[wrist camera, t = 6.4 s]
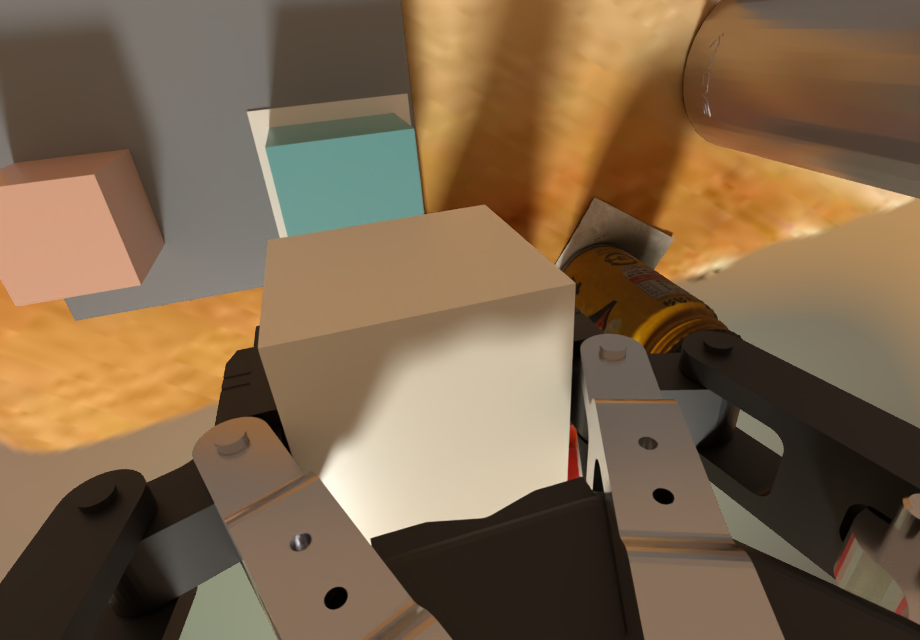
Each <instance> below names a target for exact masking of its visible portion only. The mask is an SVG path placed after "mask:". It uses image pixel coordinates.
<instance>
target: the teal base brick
mask: <svg viewBox="0 0 920 640" xmlns="http://www.w3.org/2000/svg"><path fill="white" fill-rule="evenodd" d="M265 149H266V153H267V157H268V161H269V165H270V169H271V173H272V177H273V181H274V185H275V189H276V192H277V196H278V200H279V204H280V208H281V212H282V216H283V220H284V224H285V228H286V232H287V236H288V237H290V236H296V235H302V234H308V233H314V232H320V231H326V230H333V229H339V228H345V227H351V226H357V225H363V224H369V223H375V222H381V221H387V220H393V219H399V218H406V217H412V216H418V215H424V212H423V203H422V194H421V185H420V176H419V168H418V159H417V150H416V141H415V132H414V128H413V127H412V126H410V125H409V124H408V123H406V122H405V121H404V120H403V119H401V118H400V117H399V116H397V115H396V114H395V113H388V114H379V115H371V116H363V117H354V118H346V119H338V120H329V121H321V122H313V123H304V124H296V125H288V126H279V127H271V128H269V131H268V136H267V141H266V145H265Z"/></svg>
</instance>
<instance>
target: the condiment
mask: <svg viewBox="0 0 920 640" xmlns="http://www.w3.org/2000/svg"><path fill="white" fill-rule="evenodd" d="M601 236H605V237H603V238H601V239H600V237H601ZM596 239H598V241H597V242H595V240H596ZM673 240H674V238H672V237H670V236H668V235H666V234H664V233H663V232H661V231H659V230H657V229H655V228H653V227H651V226H649V225H647V224H645V223H643V222H641V221H640V220H638V219H636V218H634V217H632V216H630V215H628V214H626V213H624V212H622V211H620V210H618V209H616V208H615V207H613V206H611V205H609V204H607V203H605V202H603V201H601V200H599V199H597V198H594V199H593V201H592V203H591V205H590V207H589V209H588V211H587V212H586V214H585V215H584V217H583V218H582V220H581V223H580V225H579V227H578V228H577V229H576V231H575V233H574V234H573V236H572V238H571V240H570V242H569V243H568V245H567V246H566V248H565V250H564V251H563V253H562V254H561V256H560V258H559V259H558V261H557V262H556V264H555V266H556V267H558V268H559V269H560V270H561V271H562V272H563V273H565V274H566V275H567V276H568V277H569V278H570V279H571V280H573V281H574V282H575V283H576V289H575V306H576V307H577V308H578V309H579V310H580V311H581V313H584V314H585V315H586V316H587V317H588V318H589V319H590V320H591V321H592V322H593V323H594V324H595V325H596V326H597V327H598V328H599V329H600V330H601V331H603V332H604V333H605V334H617V335H623V336H626V337H629V338H632V339H634V340H636V341H637V342H639V343H640V344H641V345H642V346H643V347H644V349H645V350H646V353H681V349H682V343H683V340H684V338H685V337H687V336H688V335H690V334H692V333H695V332H701V331H715V332H722V333H726V334H730V335H733V336H735V337H737V338H740V339H741V337H740V335H737V334H735V333H734V332H731V331H730V330H728V328H727V327H726V326H725V325H724V324H723V323H722V322H721V321H719V320H718V318H717V315H716V314H715V313H714V311H713V310H712V309H711V308H710V307H709V306H707V305H706V304H705V303H704V302H703V301H701V300H699V299H697V298H696V297H694V296H693V295H691V294H690V293H688V292H687V291H685V290H684V289H682V288H680V287H679V286H677V285H676V284H674V283H673V282H671V281H670V280H668V279H667V278H665V277H664V276H662V275H661V274H659V273H658V272H656V271H655V270H654V268H655V267H656V265H657V264H658V262H659V261H660V259H661V258H662V257H663V256H664V254H665V253H666V252H667V250H668V248H669V246H670V245H671V243H672V242H673ZM742 340H743V339H742Z"/></svg>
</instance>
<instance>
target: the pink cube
mask: <svg viewBox="0 0 920 640" xmlns="http://www.w3.org/2000/svg"><path fill="white" fill-rule="evenodd" d="M164 245H165V242H164V240H163V237H162V234H161V232H160V229H159V227H158V224H157V221H156V219H155V216H154V214H153V211H152V208H151V206H150V203H149V200H148V198H147V195H146V193H145V190H144V187H143V185H142V182H141V179H140V177H139V174H138V172H137V169H136V166H135V164H134V161H133V159H132V156H131V153H130V151H129V149H125V150H116V151H108V152H100V153H92V154H83V155H75V156H67V157H59V158H51V159H42V160H34V161H26V162H18V163H13V164H11V165H8V166H6V167H4V168H2V169H0V280H1V281H2V283H3V285H4V287H5V288H6V290H7V292H8V294H9V295H10V297H11V299H12V301H13V302H14V304H15V306H16V307H17V306H23V305H29V304H34V303H40V302H46V301H52V300H58V299H63V298H69V297H75V296H81V295H87V294H93V293H98V292H104V291H110V290H116V289H122V288H128V287H133V286H139V285H142V283H143V281H144V279H145V278H146V276H147V274H148V273H149V271H150V269H151V267H152V266H153V264H154V262H155V260H156V259H157V257H158V255H159V254H160V252H161V250H162V248H163V247H164Z"/></svg>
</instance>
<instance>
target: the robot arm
mask: <svg viewBox="0 0 920 640" xmlns="http://www.w3.org/2000/svg"><path fill="white" fill-rule="evenodd" d="M683 96H684V103H685V109H686V112H687V115H688V118H689V120H690V123H691V124H692V126H693V127H694V129H695V130H696V132H697V133H698V134H699V135H700V136H702V137H703V138H704V139H705V140H707V141H709V142H711V143H713V144H716V145H719V146H722V147H726V148H730V149H734V150H738V151H741V152H745V153H749V154H753V155H756V156H760V157H763V158H767V159H770V160H774V161H778V162H782V163H786V164H789V165H793V166H797V167H801V168H805V169H808V170H812V171H816V172H820V173H824V174H828V175H831V176H835V177H839V178H843V179H847V180H850V181H854V182H858V183H862V184H866V185H870V186H873V187H877V188H881V189H885V190H889V191H892V192H896V193H900V194H904V195H908V196H912V197H915V198H919V199H920V0H721V1H720V2H719V3H718V4H717V5H716V6H715V7H714V9H713V10H712V11H711V13H710V14H709V15H708V17H707V18H706V19H705V21H704V22H703V24H702V26H701V28H700V30H699V31H698V33H697V35H696V37H695V39H694V41H693V44H692V47H691V49H690V52H689V55H688V58H687V63H686V68H685V72H684V84H683ZM259 329H260V326H256V331H255V340H254V347H252V348H247V349H242V350H237V352H236V353H235V354H234V355H233V356H232V358H231V359H230V360H229V361H228V362H227V364H226V367H225V372H224V380H223V383H222V392H221V394H220V400H219V405H218V411H217V416H216V422H215V427H213V428H211V429H210V430H209V431H207V432H206V433H205V434H204V435H203V436H202V437H201V438H200V439H199V440H198V441H197V442H196V444H195V446H194V449H193V452H192V456H193V460H191V461H190V462H188V463H187V464H185V465H183V466H182V467H180V468H178V469H176V470H174V471H171V472H169V473H167V474H165V475H163V476H160V477H158V478H156V479H154V480H152V481H150V482H146V480H145V479H144V477H143V475H141V473H139V472H137V471H134V470H129V469H121V470H114V471H110V472H106V473H103V474H100V475H98V476H95V477H93V478H91V479H89V480H87V481H85V482H84V483H82V484H80V485H79V486H77V487H76V488H74V489H73V490H72V491H71V492H69V493H68V494H67V495H66V496H65V497H64V498H63V499H62V500H61V501H60V503H59V504H58V505H57V506H56V508H55V509H54V510H53V512H52V513H51V515H50V516H49V517H48V519H47V520H46V521H45V523H44V524H43V525H42V527H41V528H40V530H39V531H38V533H37V534H36V535H35V536H34V538H33V539H32V541H31V542H30V543H29V545H28V546H27V547H26V549H25V550H24V552H23V553H22V554H21V556H20V557H19V558H18V560H17V561H16V563H15V564H14V565H13V567H12V568H11V569H10V571H9V572H8V574H7V575H6V577H5V578H4V579H3V580H2V582H1V583H0V640H179V638H180V635H181V632H182V630H183V627H184V624H185V621H186V619H187V616H188V613H189V611H190V608H191V605H192V603H193V600H194V597H195V595H196V591H197V586H198V585H200V584H201V583H203V582H205V581H207V580H209V579H210V578H212V577H214V576H216V575H217V574H219V573H220V572H223V571H224V570H226V569H228V568H230V567H231V566H233V565H235V564H237V563H238V562H240V563H241V565H242V567H243V569H244V571H245V573H246V576H247V578H248V580H249V582H250V584H251V586H252V588H253V590H254V592H255V594H256V596H257V598H258V600H259V603H260V605H261V606H262V609H263V611H264V613H265V615H266V617H267V619H268V621H269V623H270V625H271V627H272V630H273V632H274V634H275V636H276V638H277V640H920V429H919V428H918V427H915V426H913V425H912V424H910V423H908V422H906V421H904V420H901V419H899V418H898V417H895V416H894V415H891V414H889V413H887V412H885V411H883V410H881V409H880V408H877V407H876V406H873V405H872V404H870V403H868V402H865V401H863V400H862V399H860V398H858V397H855V396H854V395H852V394H850V393H847V392H845V391H844V390H841V389H839V388H838V387H836V386H834V385H831V384H829V383H827V382H826V381H824V380H822V379H820V378H818V377H816V376H814V375H812V374H810V373H808V372H805V371H804V370H802V369H800V368H798V367H796V366H793V365H792V364H790V363H788V362H786V361H784V360H782V359H779V358H778V357H776V356H774V355H772V354H770V353H768V352H765V351H764V350H762V349H760V348H758V347H755V346H754V345H752V344H750V343H748V342H746V341H744V340H742V339H740V338H737V337H735V336H733V335H730V334H726V333H722V332H715V331H701V332H695V333H692V334H690V335H688V336H687V337H685V338H684V340H683V343H682V349H681V353H646V350H645V349H644V347H643V346H642V345H641V344H640V343H639V342H637V341H636V340H634V339H632V338H629V337H626V336H623V335H617V334H605V333H604V332H603V331H601V330H600V329H599V328H598V327H597V326H596V325H595V324H594V323H593V322H592V321H591V320H590V319H589V318H588V317H587V316H586V315H585V314H584V313H581V311H580V310H579V309H578V308H577V307H576V306H575V312H574V336H573V359H572V383H571V406H570V425H574V427H575V428H576V452H577V460H578V469H579V478H576V479H572V480H569V481H565V482H562V483H558V484H555V485H552V486H548V487H545V488H541V489H538V490H534V491H533V492H531V493H529V494H527V495H526V496H524V497H522V498H520V499H518V500H517V501H515V502H513V503H511V504H510V505H508V506H506V507H504V508H503V509H501V510H499V511H497V512H496V513H494V514H492V515H490V516H488V517H485V518H477V519H463V520H448V521H433V522H424V523H421V524H417V525H414V526H411V527H407V528H404V529H400V530H397V531H393V532H390V533H387V534H383V535H380V536H376V537H373V538H370V540H371V545H370V544H369V542H368V541H367V540H366V538H365V537H364V536H363V534H362V533H361V532H360V530H359V529H358V528H357V527H356V525H355V524H354V523H353V521H352V520H351V519H350V517H349V516H348V515H347V514H346V512H345V511H344V510H343V508H342V507H341V506H340V504H339V503H338V502H337V501H336V499H335V498H334V497H333V495H332V494H331V493H330V491H329V490H328V489H327V487H326V486H325V485H324V484H323V482H322V481H321V480H320V478H319V477H318V476H317V475H316V474H315V473H314V472H312V471H311V472H309V473H307V474H304V472H303V471H302V470H301V468H300V467H299V466H298V464H297V463H296V461H295V460H294V459H293V457H292V454H291V451H290V447H289V444H288V441H287V438H286V435H285V432H284V429H283V426H282V423H281V419H280V416H279V413H278V410H277V407H276V404H275V401H274V398H273V394H272V391H271V388H270V385H269V382H268V379H267V376H266V373H265V370H264V366H263V363H262V360H261V357H260V354H259V351H258V340H259ZM740 409H741V410H743V411H744V412H746V413H747V414H749V415H751V416H752V417H754V418H755V419H757V420H759V421H760V422H762V423H764V424H765V425H767V426H768V427H770V428H771V429H773V430H774V431H775V432H776V433H777V434H778V435H779V437H780V438H781V440H782V443H783V445H784V453H783V456H782V457H781V456H780V455H778V454H776V453H775V452H773V451H772V450H771V449H769V448H767V447H766V446H764V445H763V444H761V443H760V442H758V441H757V440H755V439H754V438H752V437H751V436H749V435H748V434H746V433H745V432H743V431H742V430H740V429H739V428H737V427H736V422H737V419H738V415H739V411H740ZM709 481H710V482H712V483H713V484H714V485H715V486H717V487H718V488H719V489H720V490H722V491H723V492H724V493H726V494H727V495H728V496H730V497H731V498H732V499H733V500H735V501H736V502H737V503H738V504H740V505H741V506H742V507H743V508H745V509H746V510H747V511H749V512H750V513H751V514H752V515H754V516H755V517H756V518H758V519H759V520H760V521H761V522H763V523H764V524H765V525H767V526H768V527H769V528H770V529H772V530H773V531H774V532H775V533H777V534H778V535H779V536H781V537H782V538H783V539H784V540H786V541H787V542H788V543H789V544H791V545H792V546H793V547H795V548H796V549H797V550H799V551H800V552H801V553H802V554H804V555H805V556H806V557H807V558H809V559H810V560H811V561H812V562H814V563H815V564H816V565H818V566H819V567H820V568H821V569H823V570H824V571H825V572H827V573H828V574H829V575H830V576H832V577H833V578H834V579H836V581H837V583H838V585H839V586H840V587H838V586H835V585H833V584H831V583H829V582H826V581H825V580H822V579H820V578H818V577H816V576H813V575H811V574H809V573H807V572H805V571H803V570H800V569H798V568H796V567H794V566H792V565H789V564H787V563H785V562H782V561H780V560H778V559H776V558H774V557H772V556H770V555H767V554H765V553H763V552H760V551H759V550H756V549H754V548H752V547H750V546H747V545H745V544H743V543H741V542H739V541H737V540H734V539H732V537H731V535H730V532H729V530H728V527H727V525H726V522H725V520H724V517H723V515H722V512H721V510H720V508H719V505H718V502H717V500H716V497H715V495H714V492H713V489H712V487H711V484H710V482H709Z"/></svg>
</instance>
